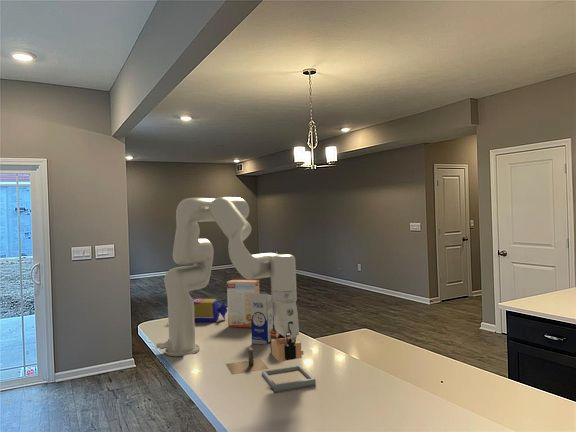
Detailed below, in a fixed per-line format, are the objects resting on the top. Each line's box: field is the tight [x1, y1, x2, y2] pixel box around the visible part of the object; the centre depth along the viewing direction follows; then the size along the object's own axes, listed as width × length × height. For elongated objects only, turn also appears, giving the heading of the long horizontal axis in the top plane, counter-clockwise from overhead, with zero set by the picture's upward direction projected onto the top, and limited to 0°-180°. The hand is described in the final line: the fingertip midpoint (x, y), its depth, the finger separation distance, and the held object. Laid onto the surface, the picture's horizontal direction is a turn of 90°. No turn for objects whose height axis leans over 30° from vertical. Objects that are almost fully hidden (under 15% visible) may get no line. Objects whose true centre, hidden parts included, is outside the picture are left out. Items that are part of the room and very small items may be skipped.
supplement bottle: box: [269, 323, 288, 355], centre depth 148 cm, size 6×6×11 cm
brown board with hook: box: [225, 346, 270, 375], centre depth 135 cm, size 12×10×6 cm
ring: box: [270, 338, 304, 362], centre depth 124 cm, size 9×7×4 cm
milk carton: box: [250, 291, 274, 346], centre depth 164 cm, size 7×7×20 cm
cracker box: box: [226, 279, 261, 328], centre depth 190 cm, size 14×6×21 cm, turn 71°
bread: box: [192, 298, 228, 323], centre depth 203 cm, size 10×25×10 cm, turn 84°
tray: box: [261, 364, 317, 394], centre depth 124 cm, size 13×13×2 cm
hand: (286, 355), depth 124 cm, fingers closed on ring, 7 cm apart
